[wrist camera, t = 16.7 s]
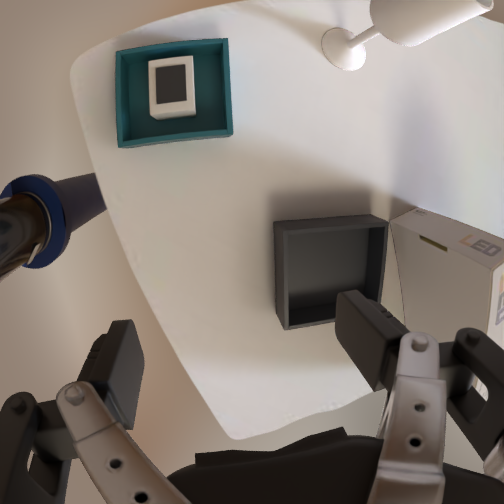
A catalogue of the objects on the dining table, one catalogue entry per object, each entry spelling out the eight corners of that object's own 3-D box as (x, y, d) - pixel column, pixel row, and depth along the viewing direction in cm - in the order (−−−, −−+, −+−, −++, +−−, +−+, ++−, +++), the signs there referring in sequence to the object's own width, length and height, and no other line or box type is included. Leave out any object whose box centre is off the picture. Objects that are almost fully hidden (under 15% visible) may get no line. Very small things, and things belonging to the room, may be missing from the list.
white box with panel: (157, 121, 31) (149, 114, 26) (155, 73, 29) (148, 60, 24) (196, 116, 32) (195, 109, 26) (193, 69, 30) (192, 54, 24)
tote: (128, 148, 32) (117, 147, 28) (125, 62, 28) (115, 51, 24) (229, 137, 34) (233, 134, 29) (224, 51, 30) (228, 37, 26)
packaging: (430, 346, 51) (489, 404, 33) (407, 361, 51) (463, 425, 32) (418, 206, 41) (521, 245, 22) (388, 220, 41) (492, 270, 22)
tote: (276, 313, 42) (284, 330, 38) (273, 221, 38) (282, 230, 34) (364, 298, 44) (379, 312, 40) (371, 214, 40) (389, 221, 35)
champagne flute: (358, 79, 33) (500, 38, 11) (314, 55, 32) (439, -25, 9) (371, 44, 32) (499, -9, 9) (330, 20, 30) (443, -63, 8)
